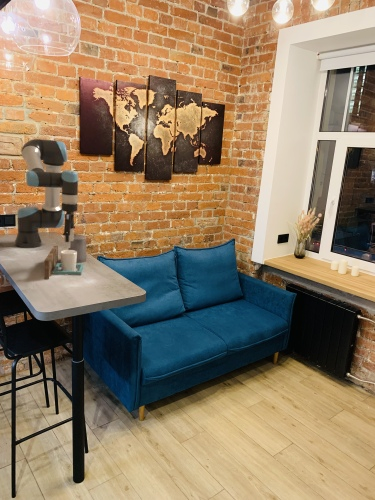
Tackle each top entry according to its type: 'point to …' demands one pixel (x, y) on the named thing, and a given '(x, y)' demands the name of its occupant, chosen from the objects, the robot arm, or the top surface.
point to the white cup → (68, 260)
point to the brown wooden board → (50, 262)
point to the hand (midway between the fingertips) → (69, 244)
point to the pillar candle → (79, 247)
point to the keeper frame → (68, 271)
